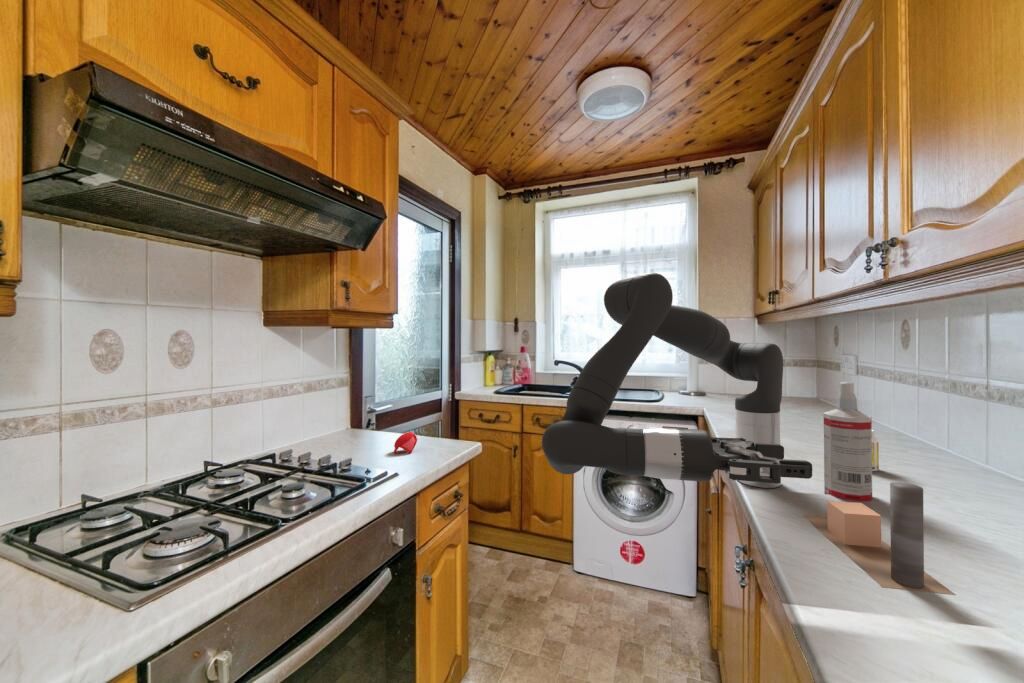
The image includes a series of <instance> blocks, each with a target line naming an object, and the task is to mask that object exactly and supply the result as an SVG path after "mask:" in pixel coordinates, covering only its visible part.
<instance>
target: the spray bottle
mask: <svg viewBox="0 0 1024 683" xmlns="http://www.w3.org/2000/svg"><path fill="white" fill-rule="evenodd" d="M854 385H855V384H854V383H853V382H849V381H841V382H839V393H838V395H837V398H836V408H834V409H831V410H829V411H828V410H827V411H825V412H823V466H824V467H823V468H824V469H823V471H824V472H823V474H824V475H823V476H824V478H823V480H824V481H823V483H824V484H823V485H824V486H823V487H824V489H823V490H824V495H830V496H833V497H836V498H839V499H843V500H848V501H854V502H870V501H872V499H873V471H872V430H873V429H872V426H873V425H872V423H873V422H872V420H873V419H872V415H870V414H869V415H868V414H867V413H864V412H862V411H859V409H858V400H857V395H856V394H855V389H854V388H855V386H854Z"/></svg>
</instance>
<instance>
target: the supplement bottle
mask: <svg viewBox="0 0 1024 683" xmlns="http://www.w3.org/2000/svg"><path fill="white" fill-rule="evenodd" d="M879 450H880V448H879V439H878V438H877V437H875V430H874V429H872V472H877V471H878V470H880V467H879V466H880V465H879V461H880V460H879V459H880V458H879V457H880V456H879V454H880V453H879Z"/></svg>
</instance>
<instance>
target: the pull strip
mask: <svg viewBox="0 0 1024 683" xmlns="http://www.w3.org/2000/svg"><path fill="white" fill-rule="evenodd" d="M889 489H890V490H889V499H890V500H889V502H890V503H889V506H890V507H889V509H890V510H889V512H890V513H889V514H890V518H889V519H890V528H889V529H890V545H889V544H887V543H886V542H885V541H884V540H882V539H881V547H870V546H858V545H846V544H844V543H842V542H841V541H840V540H839V539H838V538H837V537H835V536H834V535H833V534H832V533H831V532H830V531H829V530H828V521H827V516H822V515H821V516H819V515H807V514H806V515H804V514H802V517H804V518H805V519H806V520H807V521H808V522H809V523H810V524H811V525H812V526H813V527H814V528H816V529H817V530H818V531H819V532H820V533H821V534H822V535H824V536H825V538H827V539H828V540H829V541H830V542H831V543H833V544H834V546H835V547H837V548H838V549H839V550H840V551H841V552H842V553H843V554H845V555H846V556H847V557H848V558H849V559H850V560H851V561H852V562H854V563H855V564H856V565H857V566H858V567H859V568H860V569H861V570H863V571H864V573H866V574H867V575H868V576H869V577H870V578H871V579H873V580H874V582H876V583H877V584H878V586H880V587H881V588H885V589H895V590H904V591H913V592H915V591H916V592H922V593H923V592H924V593H932V594H934V593H935V594H941V595H942V594H943V595H944V594H945V595H952V596H953V595H954V596H956V593H954V592H953V591H952V590H950V588H948V587H946V586H945V585H943V584H942V583H941V582H940V581H938V580H937V579H935V578H934V577H933V576H931V575H930V574H929V573H928V572H926V571H925V556H924V555H925V554H924V552H925V546H924V543H925V542H924V541H925V539H924V537H925V536H924V535H925V534H924V532H925V530H924V527H925V525H924V488H923V487H922V486H919V485H916V484H913V483H908V482H905V481H904V482H903V481H902V482H901V481H892V482H890V483H889Z"/></svg>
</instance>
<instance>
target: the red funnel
mask: <svg viewBox="0 0 1024 683" xmlns="http://www.w3.org/2000/svg"><path fill="white" fill-rule="evenodd" d="M417 443H418V437H417V435H416V434H415V433H414V432H412V431H411V432H410V431H409V432H404V433H402V434H401V435H400V436H399V437H397V439H396V440H395V442H394V445H393V447H394V450H393V454H395V453H396V452H397V451H398V450H399V448H400V449H402V450H404V451H406V452H408V453H409V454H412V453H413V451H414V449H415V447H416V445H417Z"/></svg>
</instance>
